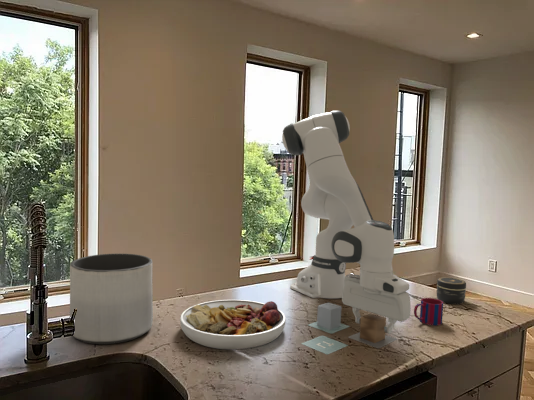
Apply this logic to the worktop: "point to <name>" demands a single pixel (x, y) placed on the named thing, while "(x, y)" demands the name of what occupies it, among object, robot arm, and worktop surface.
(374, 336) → the walnut block
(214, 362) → the worktop surface
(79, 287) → the planter
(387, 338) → the slate coaster
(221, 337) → the bowl
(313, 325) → the code tile
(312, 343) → the code tile
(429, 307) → the mug
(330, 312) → the blue-grey block
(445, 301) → the jar
